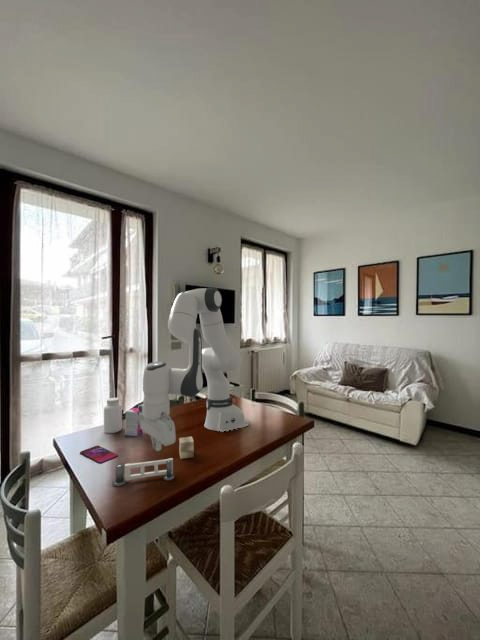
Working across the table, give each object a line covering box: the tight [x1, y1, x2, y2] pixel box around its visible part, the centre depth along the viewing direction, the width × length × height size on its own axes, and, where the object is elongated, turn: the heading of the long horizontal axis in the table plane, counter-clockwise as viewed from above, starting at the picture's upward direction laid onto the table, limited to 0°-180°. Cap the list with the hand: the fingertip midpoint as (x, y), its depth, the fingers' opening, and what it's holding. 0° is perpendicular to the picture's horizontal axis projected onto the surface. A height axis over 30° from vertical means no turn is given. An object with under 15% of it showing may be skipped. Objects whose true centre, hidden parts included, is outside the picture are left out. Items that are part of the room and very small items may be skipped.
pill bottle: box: [103, 397, 123, 434], centre depth 135 cm, size 8×8×15 cm
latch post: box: [162, 460, 175, 482], centre depth 94 cm, size 4×4×6 cm
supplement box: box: [124, 407, 144, 438], centre depth 130 cm, size 6×6×12 cm
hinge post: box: [111, 463, 128, 487], centre depth 91 cm, size 4×4×6 cm
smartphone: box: [79, 445, 119, 464], centre depth 110 cm, size 8×1×15 cm
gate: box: [124, 457, 174, 482], centre depth 94 cm, size 15×1×5 cm, turn 106°
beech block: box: [178, 436, 195, 460], centre depth 111 cm, size 5×5×6 cm
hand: (157, 449), depth 98 cm, fingers closed
